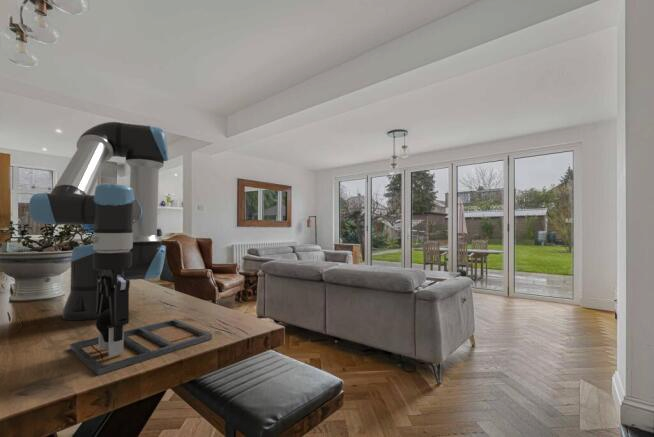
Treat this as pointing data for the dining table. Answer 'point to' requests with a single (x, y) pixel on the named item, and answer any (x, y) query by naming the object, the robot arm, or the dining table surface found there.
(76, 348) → the gray divided frame
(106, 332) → the light bulb
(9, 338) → the dining table surface
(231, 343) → the dining table surface
